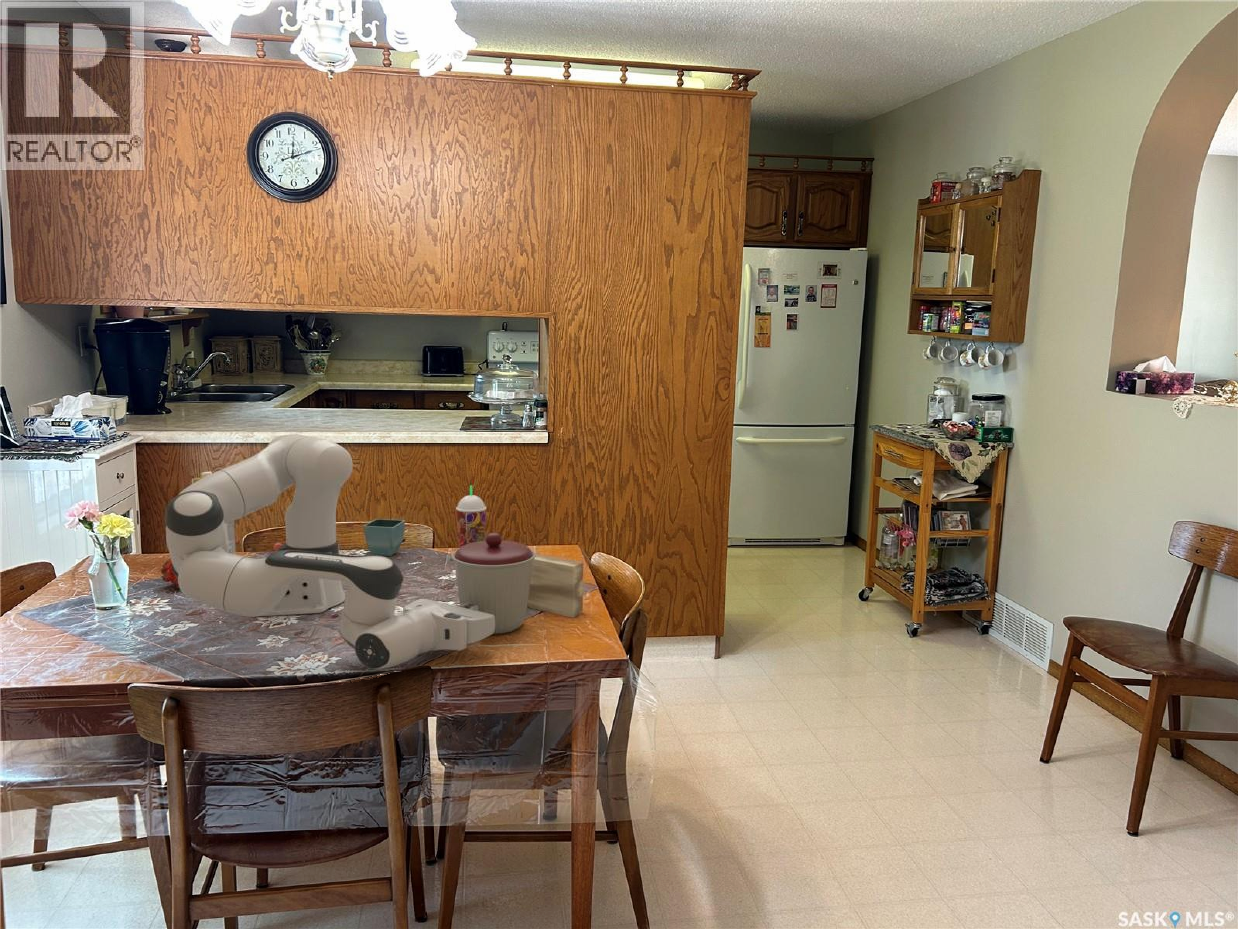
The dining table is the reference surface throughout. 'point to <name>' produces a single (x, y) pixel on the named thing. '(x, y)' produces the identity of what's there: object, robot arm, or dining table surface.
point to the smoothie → (471, 519)
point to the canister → (495, 579)
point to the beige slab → (556, 586)
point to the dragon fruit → (169, 573)
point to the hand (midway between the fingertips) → (473, 607)
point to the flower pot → (384, 536)
